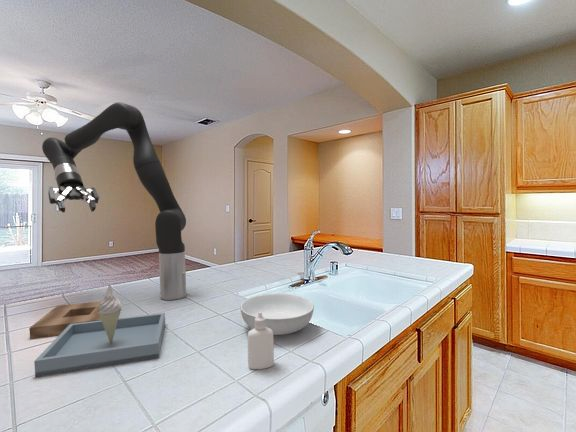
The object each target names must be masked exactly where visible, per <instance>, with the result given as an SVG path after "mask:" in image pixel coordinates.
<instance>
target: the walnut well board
mask: <svg viewBox="0 0 576 432" xmlns="http://www.w3.org/2000/svg"><path fill="white" fill-rule="evenodd" d="M101 302H102V301H92V302H82V303H72V304H61V305H56V306H55V307H54V308H53V309H51V310H50V311H48V313H46V314H45V315H44V316H42V317H41V318H40V319H39V320H38V321H36V322H35V323H33V325H31V326H30V327H29V339H30V340H32V339H40V338H47V337H55V336H56V337H58V336H59V335H60V334H61V333H62V332H63V331H64V330H65V329H66V328H67V327H68V326H69V325H70V324H74V323H83V322H91V321H100V320H101V318H100V315H99V314H98V312H99V308H100V306H99V304H100V303H101Z"/></svg>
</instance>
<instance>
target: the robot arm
mask: <svg viewBox="0 0 576 432" xmlns="http://www.w3.org/2000/svg"><path fill="white" fill-rule="evenodd" d="M115 129H120V130H125V132H126V133H127V134H128V136H129V138H130V140H131V143H132V146H133V156H132V157H133V160H132V162H133V167H134V170H135V172H136V175H137V177H138V179H139V181H140V183H141V184H142V186H143V187H144V188H145V190H146V191H147V193H149V194H150V196H151V197H152V199H153V200H154V202H155V203H156V206H157V207H158V210H159V213H158V214H157V216H156V217H155V221H154V222H155V223H154V224H155V225H154V227H155V229H154V230H155V240H156V241H155V243H156V246H157V249H158V258H159V259H158V262H159V263H158V264H159V265H158V266H159V291H160V292H159V294H160V300H163V301H174V300H179V299H180V300H181V299H182V298H186V297H187V276H186V274H187V273H186V271H187V270H186V249H185V248H186V246H185V243H184V242H183V240H182V231H183V230H184V229H185V227H186V224H187V219H186V215H185V214H184V211H183V210H182V208H181V206H180V204H179V203H178V201H177V199H176V197H175V195H174V192H173V190H172V188H171V185H170V183H169V179H168V178H167V175H166V172H165V170H164V167H163V165H162V162H161V161H160V159H159V156H158V154H157V152H156V149H155V147H154V145H153V142H152V140H151V137H150V134H149V131H148V129H147V125H146V122H145V119H144V116H143V114H142V112H141V110H140V109H138V108H137V107H135V106H133V105H131V104H127V103H124V102H114V103H112V104H109V106H108V107H106V108H105V109H104V110H103V111H101V112H100V113H99V114H98V115H96V116H95V117H93V119H92V120H90V121H89V122H87V123H86V124H84V125H83V126H80V127H79V128H77V129H75V130H72V131H70V132H69V133H67V134H66V135H65V137H64V141H63V140H61V139H59V138H57V137H52V136H51V137H48V138H46V139H44V141H43V142H42V147H41V148H42V152H43V154H44V156H45V157H46V159H47V160H48V161H49V162H50V164H51V165H52V167H53V173H54V179H55V181H56V184H57V188H54V187H53V186H48V189H47V190H48V193H47V194H48V199H49V203H50V204H51V205H55V204H56V205H57V208H58V210H59V212H61V213H66V206H65V202H66V201H67V200H69V201H73V200H76V201H77V200H78V201H79V200H80V201H82V202H84V203H87V204H88V206H89V209H90V212H95V210H96V208H97V205H96V204H99V200H100V196H99V193H98V192H97V189H96V188H95V187H92V186H91V188H88V189H87V188H86V187H85V185H84V182H83V179H82V177H81V173H80V171H79V170H78V167H77V165H76V162H75V158H76V157H77V155H79V153H81V152H82V151H83V150H85V149H87V148H89V147H92V146H93V145H94V144H96V143H97V142H98V141H99V140H100V138H101V137H102V136H103V135H104V134H105V133H107V132H109V131H113V130H115ZM57 193H58V194H59V196H58V197H56V195H57Z"/></svg>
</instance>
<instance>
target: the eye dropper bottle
mask: <svg viewBox="0 0 576 432" xmlns="http://www.w3.org/2000/svg"><path fill="white" fill-rule="evenodd" d="M274 345H275V344H274V335H273V332H272V330H271V329H270V328H267V327H266V318H265V317H263V316H262V312H259V313H258V317H256V318H255V328H254V329H252V328H251V329H250V330H249V331H248V332H247V366H248V368H249V369H250V370H265V369H269V368H271V367H273V366H274V364H275V362H274V361H275V357H274V356H275V355H274V353H275V352H274V350H275V349H274Z"/></svg>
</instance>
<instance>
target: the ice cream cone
mask: <svg viewBox="0 0 576 432" xmlns="http://www.w3.org/2000/svg"><path fill="white" fill-rule="evenodd" d="M103 297H104V298H103V299H102V302H101V303H100V304H99V306H100V308H99V312H98V314H99V315H100V318H101V320H102V323H103V326H104V328H105V331H106V333H107V336H108V339H109V341H110V343H111V342H112V341H113V337H114V333H115V330H116V326H117V322H118V318H119V317H120V314H121V311H122V301H121V299H119V298H118V297H117V293H116V292H115V291H114V290H113V288H112V286H111V284H108V287H107V289H106V292H105V293H104V294H103Z"/></svg>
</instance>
